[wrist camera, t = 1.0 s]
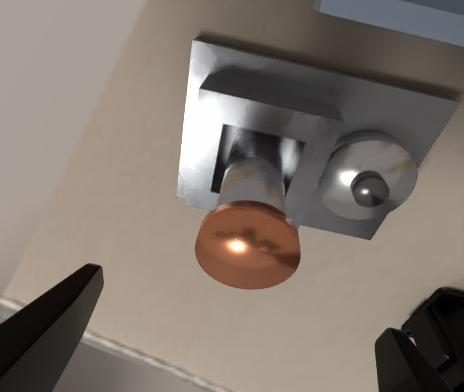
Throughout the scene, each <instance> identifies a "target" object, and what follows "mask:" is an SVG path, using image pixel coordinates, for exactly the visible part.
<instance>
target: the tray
mask: <svg viewBox="0 0 464 392" xmlns="http://www.w3.org/2000/svg"><path fill="white" fill-rule="evenodd" d="M312 9H314V10H316V11H317V12H320V13H324V14H328V15H333V16H337V17H341V18H345V19H349V20H353V21H358V22H362V23H366V24H370V25H374V26H379V27H383V28H387V29H391V30H395V31H400V32H404V33H408V34H412V35H416V36H421V37H425V38H429V39H433V40H437V41H442V42H446V43H450V44H454V45H458V46H463V47H464V0H314V3H313V7H312Z"/></svg>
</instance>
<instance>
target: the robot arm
mask: <svg viewBox="0 0 464 392" xmlns="http://www.w3.org/2000/svg"><path fill="white" fill-rule="evenodd" d="M103 285H104V279H103V269H102V267H101V266H100V265H96V264H91V263H88V264H86V265H84V266H83V267H81V268H80V269H78V270H77V271H76V272H74V273H73V274H71V275H70V276H68V277H67V278H66V279H64V280H63V281H61V282H60V283H58V284H57V285H56V286H54V287H53V288H51V289H50V290H48V291H47V292H45V293H44V294H43V295H41V296H40V297H38V298H37V299H35V300H34V301H33V302H31V303H30V304H28V305H27V306H25V307H24V308H23V309H21V310H20V311H18V312H17V313H15V314H14V315H13V316H11V317H10V318H8V319H7V320H5V321H4V322H2V323H1V324H0V392H52V391H53V389H54V387H55V385H56V384H57V382H58V380H59V378H60V376H61V375H62V373H63V371H64V369H65V367H66V365H67V364H68V362H69V360H70V358H71V356H72V355H73V353H74V351H75V349H76V348H77V346H78V344H79V342H80V340H81V338H82V336H83V334H84V331H85V329H86V327H87V324H88V322H89V320H90V317H91V315H92V313H93V310H94V308H95V305H96V303H97V301H98V298H99V296H100V294H101V291H102V289H103ZM409 337H410V338H413V339H414V341H415V343H416V346H417V347H416V346H415V344H414V343H413V342H412V341H411V340H410V338H409ZM375 357H376V367H377V377H378V388H379V392H464V294H463V293H458V292H454V291H449V290H439V291H437V292H436V293H435V294H434V295H433V296H432V297H431V298H430V299H429V300H428V301H427V302H426V303H425V304H424V305H423V306H422V308H421V309H420V310H419V311H418V312H417V313H416V314H415V315H414V316H413V317H412V318H411V319H410V320H409V321H408V322H407V323H406V324H405V325H404V326H403V327H402V328H401V330H399V329H395V328H387V329H386V330H385V331H384V332H383V333H382V334H381V335H380V337H379V338H378V339H377V340H376V342H375Z"/></svg>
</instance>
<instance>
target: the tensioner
mask: <svg viewBox="0 0 464 392" xmlns="http://www.w3.org/2000/svg"><path fill="white" fill-rule="evenodd" d="M459 104H460V102H458V101H457V100H455V99H454V98H451V97H447V96H442V95H438V94H434V93H429V92H425V91H421V90H417V89H412V88H408V87H404V86H400V85H395V84H391V83H387V82H382V81H378V80H374V79H370V78H365V77H361V76H357V75H352V74H348V73H344V72H340V71H335V70H331V69H327V68H323V67H318V66H314V65H310V64H305V63H301V62H297V61H293V60H288V59H284V58H280V57H275V56H271V55H267V54H263V53H258V52H254V51H250V50H246V49H241V48H237V47H233V46H228V45H224V44H220V43H216V42H211V41H207V40H203V39H199V38H195V39H193V41H192V51H191V60H190V70H189V80H188V90H187V99H186V109H185V119H184V129H183V138H182V148H181V158H180V168H179V177H178V187H177V197H176V198H181V199H185V202H184V206H189V207H193V208H198V209H202V210H207V211H212V210H214V209H215V208H216V206H217V202H218V198H219V193H220V189H221V185H222V181H223V177H224V173H225V169H226V165H227V161H228V157H229V153H230V149H231V145H232V141H233V139H234V137H235V135H236V134H237V133H238V132H239V131H240V130H241V129H242V128H245V129H249V130H254V131H258V132H263V133H267V134H271V135H276V136H279V138H280V140H281V145H282V159H283V174H284V189H285V204H286V215H287V216H288V217H289V218H290V219H291V220H292V221H293V223H294V224H295V226H296V229H297V230H298V228H299V226H300V225H303V226H308V227H312V228H317V229H321V230H326V231H331V232H335V233H340V234H344V235H349V236H353V237H358V238H362V239H367V240H371V239H372V237H373V236H374V234H375V233H376V231H377V230H378V228H379V226H380V225H381V223H382V222H383V220H384V219H385V217H386V216H387V214H388V213H389V212H391V211H393V210H394V209H396V208H397V207H399V206H400V205H401V204H402V203H403V202H404V201H405V200H406V199H407V198H408V197H409V196H410V194H411V193H412V191H413V189H414V187H415V185H416V181H417V168H418V167H419V165H420V164H421V162H422V161H423V159H424V158H425V156H426V155H427V153H428V151H429V150H430V148H431V147H432V145H433V144H434V142H435V141H436V139H437V138H438V136H439V135H440V133H441V132H442V130H443V128H444V127H445V125H446V124H447V122H448V121H449V119H450V118H451V116H452V115H453V113H454V112H455V110H456V109H457V107H458V106H459Z"/></svg>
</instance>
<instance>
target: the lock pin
mask: <svg viewBox="0 0 464 392" xmlns="http://www.w3.org/2000/svg"><path fill="white" fill-rule="evenodd" d="M195 254H196V258H197V260H198V263H199V264H200V266H201V267H202V269H203V270H204V271H205V272H206V273H207V274H208V275H209V276H211V277H212V278H213V279H215V280H217V281H219V282H221V283H223V284H225V285H228V286H231V287H235V288H240V289H250V290H255V289H264V288H269V287H272V286H275V285H278V284H280V283H282V282H284V281H285V280H287V279H288V278H289V277H290V276H291V275H292V274H293V273H294V272H295V271H296V269H297V267H298V265H299V262H300V244H299V236H298V231H297V229H296V226H295V224H294V223H293V221H292V220H291V219H290V218H289V217H288V216H287V215H286V204H285V189H284V174H283V159H282V145H281V140H280V138H279V136H276V135H271V134H267V133H263V132H258V131H254V130H249V129H245V128H242V129H241V130H240V131H239V132H238V133H237V134H236V135H235V137H234V139H233V141H232V145H231V149H230V153H229V157H228V161H227V165H226V169H225V173H224V177H223V181H222V185H221V189H220V193H219V198H218V202H217V206H216V208H215V209H214V210H212V211H211V212H210V213H209V214H208V215H207V216H206V217H205V219H204V220H203V222H202V224H201V227H200V230H199V233H198V237H197V240H196V244H195Z"/></svg>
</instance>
